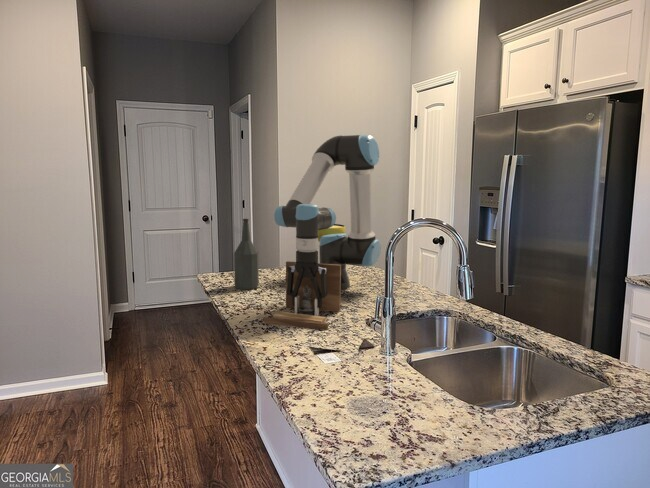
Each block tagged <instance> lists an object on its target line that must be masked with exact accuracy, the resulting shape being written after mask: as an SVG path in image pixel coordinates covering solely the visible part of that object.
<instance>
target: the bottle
mask: <svg viewBox="0 0 650 488" xmlns="http://www.w3.org/2000/svg"><path fill="white" fill-rule="evenodd" d="M249 221H250V220H249V218H243V219H242V230H241V231H242V233H241V240H240V242H239V244H238V246H237V247H236V249H235V251H234V253H233V258H234V260H233V263H234V265H233V266H234V270H233V271H234V287H235V289H236V290H240V291H253V290H255V289H258V287H259V286H260V285H259V283H260V277H259V275H260V274H259V251H258V250H257V247H256V246H255V245H254V243H253V242H252V240H251V232H250V223H249Z"/></svg>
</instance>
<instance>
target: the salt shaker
mask: <svg viewBox="0 0 650 488" xmlns="http://www.w3.org/2000/svg"><path fill="white" fill-rule="evenodd" d="M302 299H303V304H302V306H301V307H299V308H298V309H299V314H305V315H313V316H314V315H315V307H312V305H311V299H312V297H311V289H310V288H309V287H308V285H306V287H305V288H304V289H303V297H302Z"/></svg>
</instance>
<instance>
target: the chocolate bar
mask: <svg viewBox="0 0 650 488" xmlns="http://www.w3.org/2000/svg"><path fill="white" fill-rule="evenodd" d="M308 348H309V349H310V350H311V351H312V353H313V354H314V356H316V355H324V354H325V355H326V354H332V353H340V352H341V353H342V352H343V353H344V350H339V349H333V348H331V349H330V348H321V347H312V346H309V347H308ZM369 348H370V349H375V346H374V344H372V342H370V341H369V340H368V339H366V338H365V337H364V339H363V340H362V341H361V344H360V345H359V347H358V348H357V349H358V351H359V350H367V349H369Z"/></svg>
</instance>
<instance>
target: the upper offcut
mask: <svg viewBox="0 0 650 488" xmlns="http://www.w3.org/2000/svg"><path fill="white" fill-rule="evenodd" d="M272 318H282V319H292V320H303V321H313V322H323V323H327V316H320V315H318V316H315V315H314V314H313V315H305V314H300V313H299V314H297V313H295V312H287V311H281V310H279V311H278V312H276V313H274V314H273V315H272Z"/></svg>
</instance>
